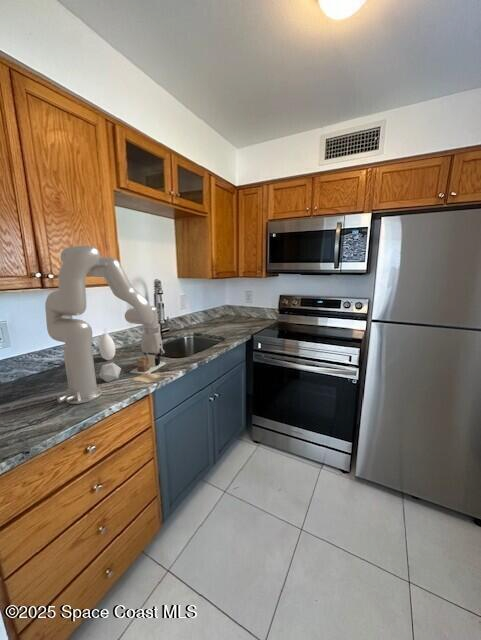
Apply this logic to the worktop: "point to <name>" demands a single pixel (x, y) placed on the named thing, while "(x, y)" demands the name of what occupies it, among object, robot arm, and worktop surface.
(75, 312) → the robot arm
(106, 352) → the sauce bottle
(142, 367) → the walnut block
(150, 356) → the label box
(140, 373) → the tray
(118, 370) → the die
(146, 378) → the pad
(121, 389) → the worktop surface
